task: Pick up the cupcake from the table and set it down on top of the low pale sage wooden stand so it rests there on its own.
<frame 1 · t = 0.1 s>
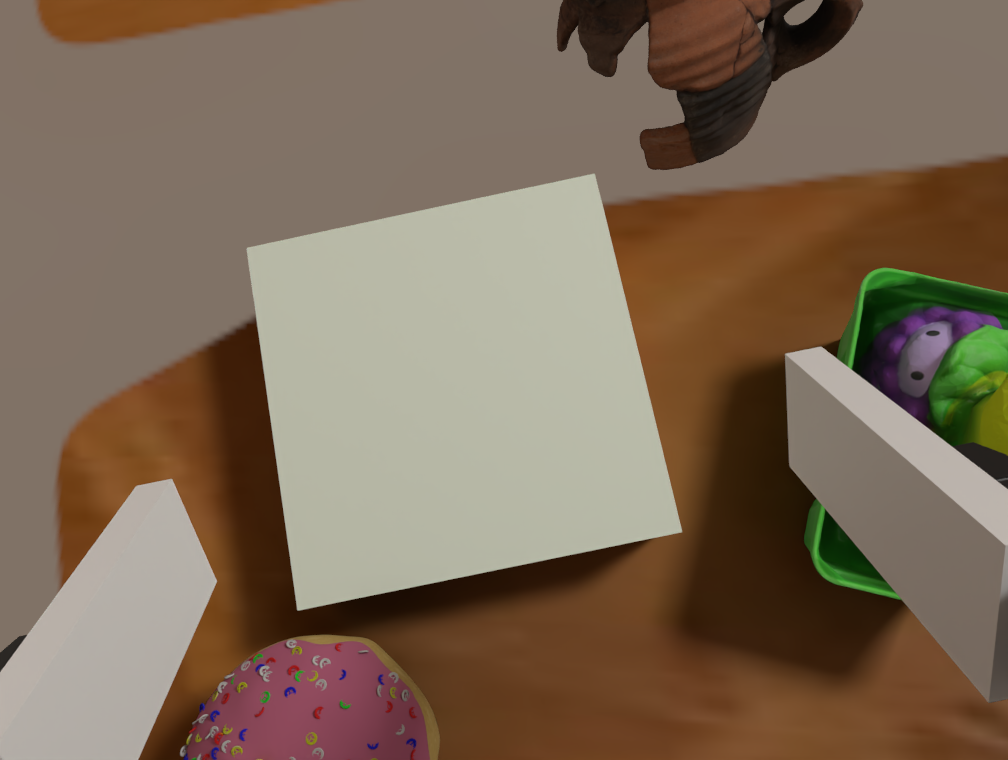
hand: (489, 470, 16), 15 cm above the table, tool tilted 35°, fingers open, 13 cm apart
sage stand: (464, 399, 31), on the table
fruit basket: (896, 457, 30), on the table
cupcake: (350, 725, 30), on the table
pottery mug: (686, 73, 34), on the table
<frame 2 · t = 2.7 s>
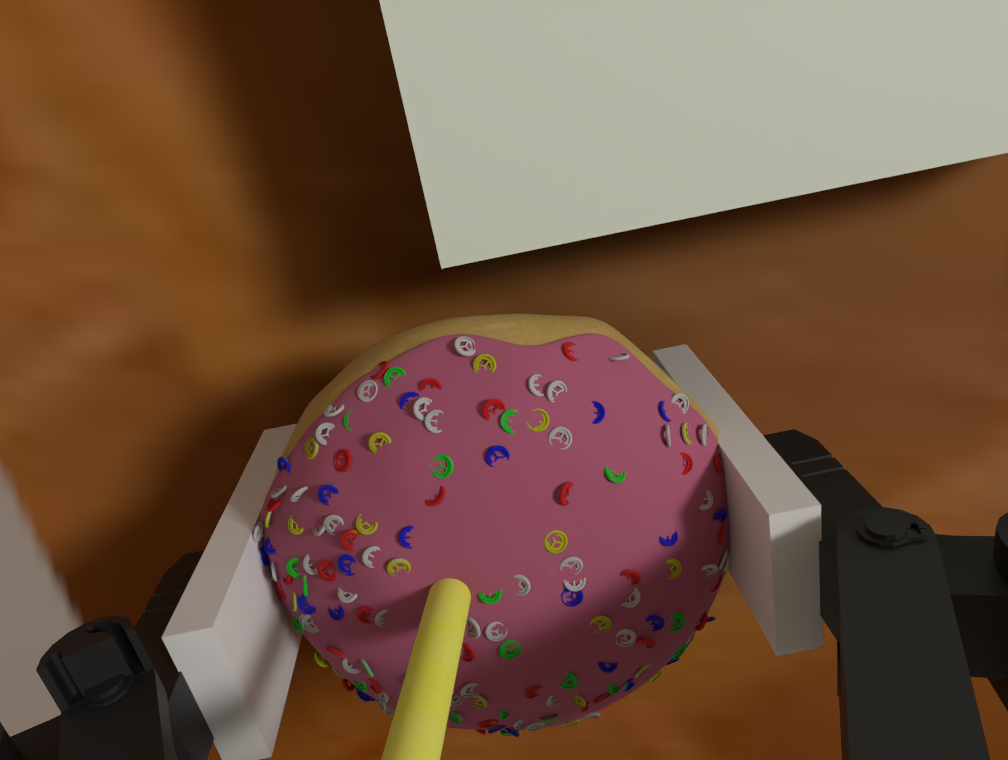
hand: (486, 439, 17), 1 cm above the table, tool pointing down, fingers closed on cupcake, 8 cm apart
cupcake: (492, 419, 18), on the table, touching gripper
when the fingers open (6 cm above the table, at t = 7.2 s): cupcake stays where it is, resting on sage stand.
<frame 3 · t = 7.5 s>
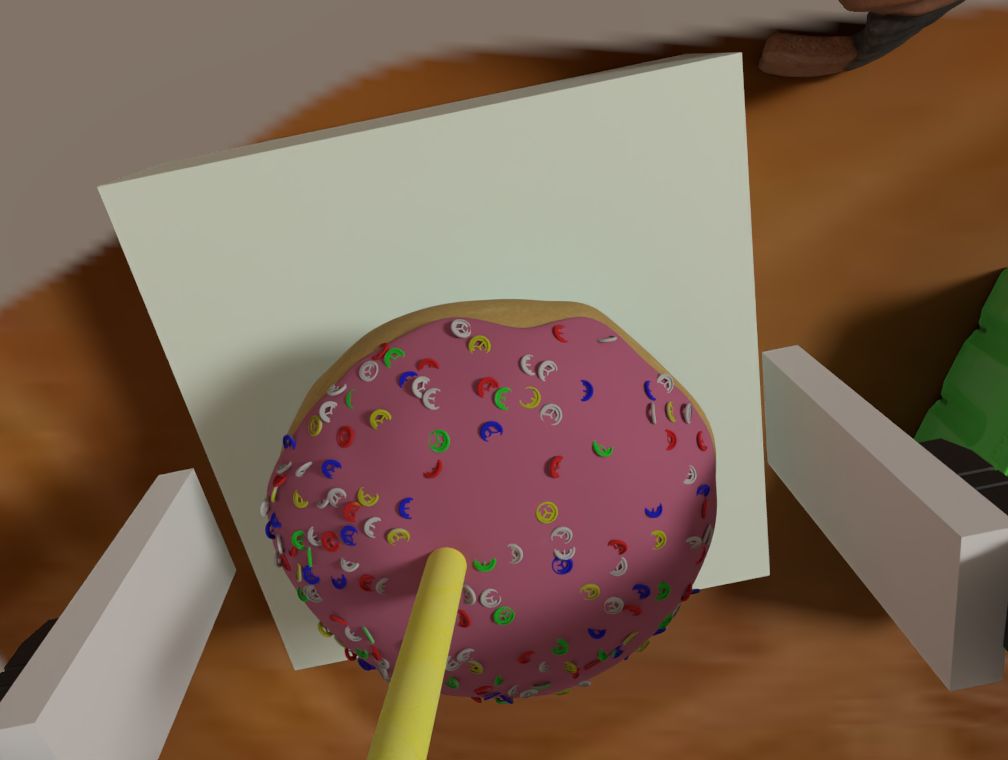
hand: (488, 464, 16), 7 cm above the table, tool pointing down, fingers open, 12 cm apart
sage stand: (477, 352, 22), on the table
cupcake: (488, 405, 19), point 4 cm above the table, touching sage stand
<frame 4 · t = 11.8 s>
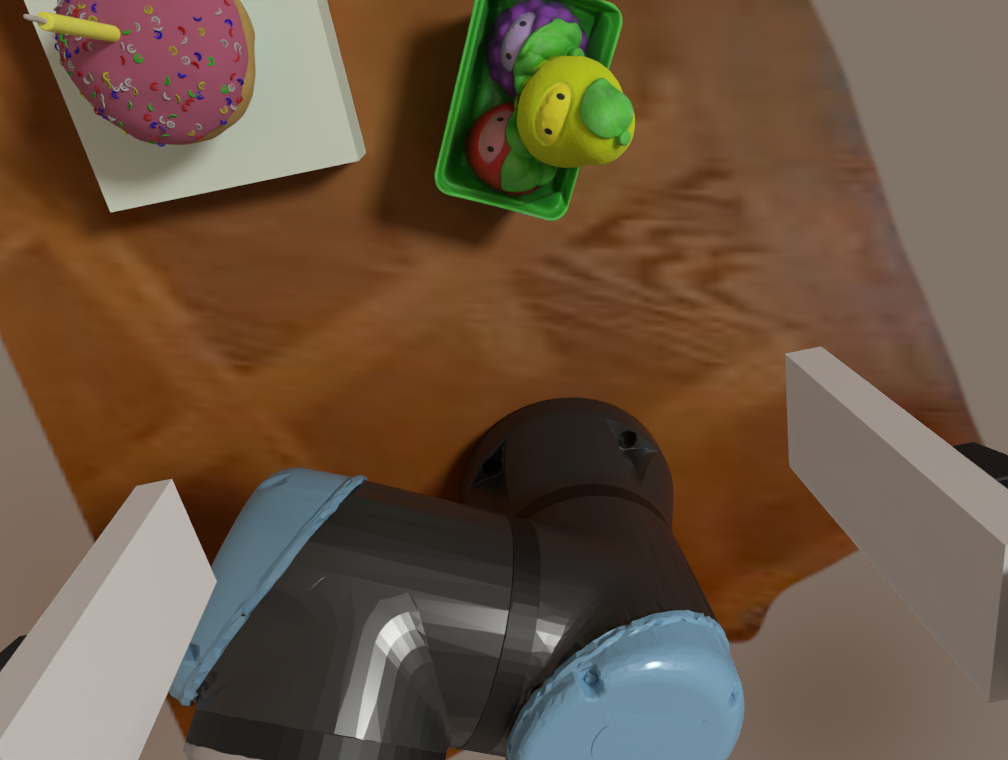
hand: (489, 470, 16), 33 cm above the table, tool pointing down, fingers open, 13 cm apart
sage stand: (211, 50, 41), on the table
fruit basket: (526, 100, 44), on the table
cupcake: (192, 49, 38), point 4 cm above the table, touching sage stand
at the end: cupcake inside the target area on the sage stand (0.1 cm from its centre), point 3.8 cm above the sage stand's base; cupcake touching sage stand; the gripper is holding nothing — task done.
